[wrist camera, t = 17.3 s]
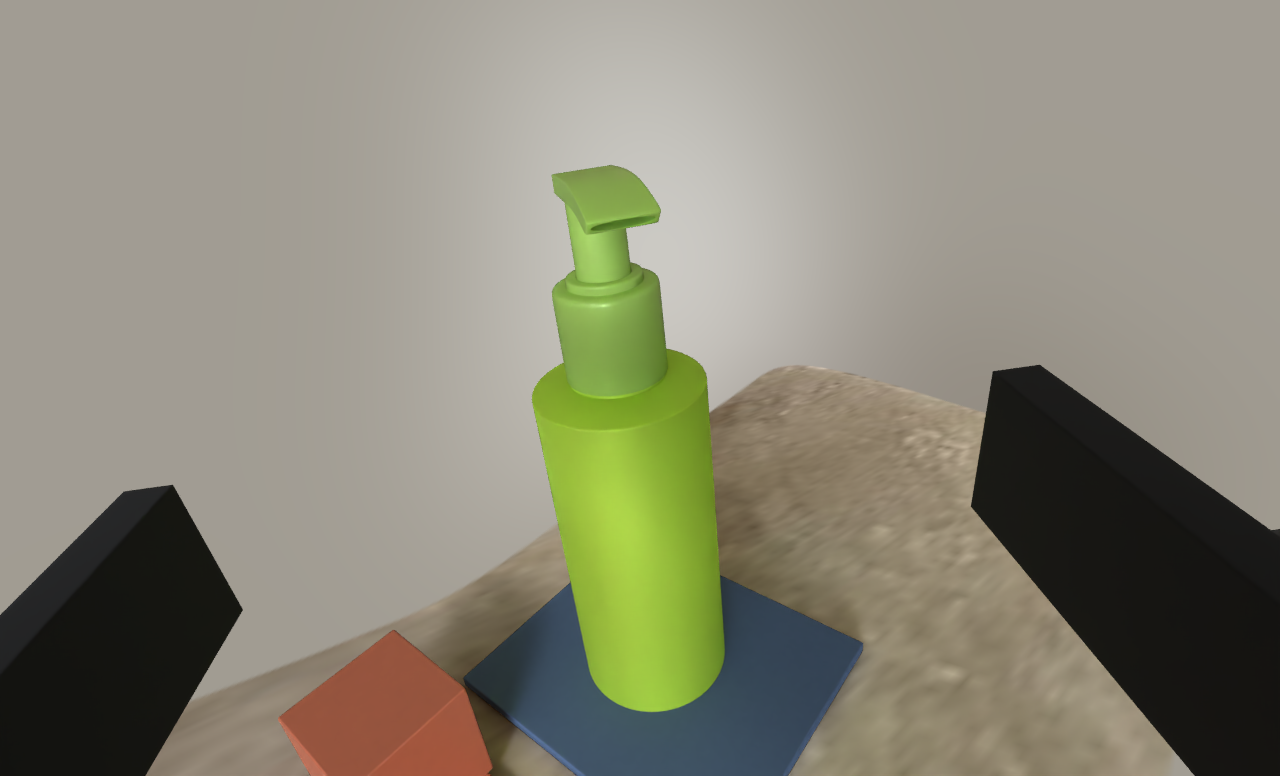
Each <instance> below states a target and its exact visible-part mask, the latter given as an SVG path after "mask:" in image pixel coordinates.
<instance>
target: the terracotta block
mask: <svg viewBox="0 0 1280 776" xmlns="http://www.w3.org/2000/svg"><path fill="white" fill-rule="evenodd" d="M278 720H279V722H280V724H281V725H282V727H283V729H284V731H285V732H286V734H287V736H288V738H289V739H290V741H291V743H292V744H293V746H294V748H295V750H296V751H297V753H298V755H299V757H300V758H301V760H302V762H303V763H304V765H305V767H306V769H307V770H308V772H309V774H310V776H485V775H486V774H487V773H488V772H489V771H490V770H491V769H492V768H493V765H492V762H491V759H490V757H489V754H488V751H487V748H486V745H485V743H484V740H483V737H482V734H481V731H480V728H479V726H478V723H477V720H476V717H475V714H474V712H473V709H472V706H471V703H470V700H469V697H468V695H467V692H466V689H465V688H464V687H463V686H462V685H461V684H460V683H458V682H457V681H456V680H455V679H454V678H452V677H451V676H450V675H449V674H447V673H446V672H445V671H444V670H443V669H441V668H440V667H439V666H438V665H436V664H435V663H434V662H433V661H432V660H430V659H429V658H428V657H427V656H425V655H424V654H423V653H422V652H421V651H419V650H418V649H417V648H416V647H414V646H413V645H412V644H411V643H410V642H408V641H407V640H406V639H405V638H404V637H402V636H401V635H400V634H399V633H397V632H396V631H395V630H392V631H391V632H390V633H388V634H387V635H386V636H384V637H383V638H382V639H380V640H379V641H378V642H376V643H375V644H374V645H373V646H371V647H370V648H369V649H367V650H366V651H365V652H363V653H362V654H361V655H359V656H358V657H357V658H356V659H354V660H353V661H352V662H350V663H349V664H348V665H346V666H345V667H344V668H342V669H341V670H340V671H339V672H337V673H336V674H335V675H333V676H332V677H331V678H329V679H328V680H327V681H325V682H324V683H323V684H322V685H320V686H319V687H318V688H316V689H315V690H314V691H312V692H311V693H310V694H308V695H307V696H306V697H305V698H303V699H302V700H301V701H299V702H298V703H297V704H295V705H294V706H293V707H291V708H290V709H289V710H287V711H286V712H285V713H284V714H282V715H281V716H280V717H279V718H278Z"/></svg>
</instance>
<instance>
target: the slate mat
mask: <svg viewBox="0 0 1280 776" xmlns="http://www.w3.org/2000/svg"><path fill="white" fill-rule="evenodd" d="M720 585H721V600H722V615H723V630H724V645H725V655H724V662H723V665H722V668H721V671H720V673H719V675H718V677H717V678H716V680H715V681H714V683H713V684H712V685H711V687H710V688H709V689H708V690H707V691H706V692H705V693H703V694H702V695H701V696H700V697H698V698H697V699H695V700H694V701H692V702H690V703H688V704H686V705H684V706H681V707H679V708H675V709H672V710H667V711H660V712H643V711H637V710H632V709H629V708H626V707H623V706H621V705H619V704H617V703H615V702H613V701H612V700H610V699H609V698H608V697H607V696H605V695H604V694H603V693H602V692H601V691H600V689H599V688H598V687H597V686H596V684H595V682H594V681H593V679H592V676H591V674H590V670H589V666H588V662H587V657H586V652H585V647H584V643H583V638H582V633H581V629H580V624H579V619H578V615H577V610H576V605H575V600H574V596H573V591H572V586H571V582H570V583H569V584H568V585H567V586H566V587H565V588H564V589H563V590H561V591H560V592H559V593H558V594H557V595H556V596H555V597H554V598H552V599H551V600H550V601H549V602H548V603H547V604H546V605H545V606H543V607H542V608H541V609H540V610H539V611H538V612H537V613H536V614H534V615H533V616H532V617H531V618H530V619H529V620H528V621H527V622H525V623H524V624H523V625H522V626H521V627H520V628H519V629H517V630H516V631H515V632H514V633H513V634H512V635H511V636H510V637H508V638H507V639H506V640H505V641H504V642H503V643H502V644H501V645H499V646H498V647H497V648H496V649H495V650H494V651H493V652H492V653H490V654H489V655H488V656H487V657H486V658H485V659H484V660H483V661H481V662H480V663H479V664H478V665H477V666H476V667H475V668H474V669H472V670H471V671H470V672H469V673H468V674H467V675H466V676H465V677H464V678H463V679H464V681H465V684H466V686H468V687H469V688H470V689H471V690H472V691H474V692H475V693H476V694H477V695H479V696H480V697H481V698H482V699H484V700H485V701H486V702H487V703H488V704H490V705H491V706H492V707H493V708H495V709H496V710H497V711H498V712H499V713H501V714H502V715H503V716H504V717H506V718H507V719H508V720H509V721H510V722H512V723H513V724H514V725H515V726H517V727H518V728H519V729H520V730H522V731H523V732H524V733H525V734H526V735H528V736H529V737H530V738H531V739H533V740H534V741H535V742H536V743H537V744H539V745H540V746H541V747H542V748H544V749H545V750H546V751H547V752H549V753H550V754H551V755H552V756H553V757H555V758H556V759H557V760H558V761H560V762H561V763H562V764H563V765H564V766H566V767H567V768H568V769H569V770H571V771H572V772H573V773H574V774H576V775H577V776H788V775H789V773H790V771H791V770H792V768H793V766H794V765H795V763H796V761H797V760H798V758H799V756H800V755H801V753H802V751H803V750H804V748H805V746H806V745H807V743H808V741H809V739H810V738H811V736H812V734H813V733H814V731H815V729H816V728H817V726H818V724H819V723H820V721H821V719H822V718H823V716H824V714H825V713H826V711H827V709H828V708H829V706H830V704H831V703H832V701H833V699H834V698H835V696H836V694H837V693H838V691H839V689H840V688H841V686H842V684H843V683H844V681H845V679H846V678H847V676H848V674H849V673H850V671H851V669H852V668H853V666H854V664H855V663H856V661H857V659H858V658H859V656H860V654H861V653H862V651H863V643H862V642H860V641H858V640H856V639H854V638H851V637H849V636H847V635H845V634H843V633H841V632H839V631H837V630H835V629H832V628H830V627H828V626H826V625H824V624H822V623H820V622H818V621H816V620H813V619H811V618H809V617H807V616H805V615H803V614H801V613H799V612H797V611H794V610H792V609H790V608H788V607H786V606H784V605H782V604H780V603H778V602H775V601H773V600H771V599H769V598H767V597H765V596H763V595H761V594H759V593H756V592H754V591H752V590H750V589H748V588H746V587H744V586H742V585H740V584H737V583H735V582H733V581H731V580H729V579H727V578H725V577H723V576H721V575H720Z"/></svg>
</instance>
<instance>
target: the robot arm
mask: <svg viewBox="0 0 1280 776" xmlns="http://www.w3.org/2000/svg"><path fill="white" fill-rule="evenodd" d="M971 507H972V508H973V510H974V511H975V512H976V513H977V514H978V516H979V517H980V518H981V519H982V520H983V522H984V523H985V524H986V525H987V526H988V528H989V529H990V530H991V531H992V532H993V534H994V535H995V536H996V537H997V538H998V540H999V541H1000V542H1001V543H1002V544H1003V546H1004V547H1005V548H1006V549H1007V550H1008V552H1009V553H1010V554H1011V555H1012V556H1013V558H1014V559H1015V560H1016V561H1017V562H1018V564H1019V565H1020V566H1021V567H1022V569H1023V570H1024V571H1025V572H1026V573H1027V575H1028V576H1029V577H1030V578H1031V579H1032V581H1033V582H1034V583H1035V584H1036V585H1037V587H1038V588H1039V589H1040V590H1041V591H1042V593H1043V594H1044V595H1045V596H1046V597H1047V599H1048V600H1049V601H1050V602H1051V603H1052V605H1053V606H1054V607H1055V608H1056V609H1057V611H1058V612H1059V613H1060V614H1061V615H1062V617H1063V618H1064V619H1065V620H1066V621H1067V623H1068V624H1069V625H1070V626H1071V627H1072V629H1073V630H1074V631H1075V632H1076V634H1077V635H1078V636H1079V637H1080V638H1081V640H1082V641H1083V642H1084V643H1085V644H1086V646H1087V647H1088V648H1089V649H1090V650H1091V652H1092V653H1093V654H1094V655H1095V656H1096V658H1097V659H1098V660H1099V661H1100V662H1101V664H1102V665H1103V666H1104V667H1105V668H1106V670H1107V671H1108V672H1109V673H1110V674H1111V676H1112V677H1113V678H1114V679H1115V680H1116V682H1117V683H1118V684H1119V685H1120V686H1121V688H1122V689H1123V690H1124V691H1125V692H1126V694H1127V695H1128V696H1129V697H1130V699H1131V700H1132V701H1133V702H1134V703H1135V705H1136V706H1137V707H1138V708H1139V709H1140V711H1141V712H1142V713H1143V714H1144V715H1145V717H1146V718H1147V719H1148V720H1149V721H1150V723H1151V724H1152V725H1153V726H1154V727H1155V729H1156V730H1157V731H1158V732H1159V733H1160V735H1161V736H1162V737H1163V738H1164V739H1165V741H1166V742H1167V743H1168V744H1169V745H1170V747H1171V748H1172V749H1173V750H1174V751H1175V753H1176V754H1177V755H1178V756H1179V757H1180V759H1181V760H1182V761H1183V762H1184V764H1185V765H1186V766H1187V767H1188V768H1189V770H1190V771H1191V772H1192V773H1193V774H1194V775H1195V776H1280V529H1278V530H1270V529H1268V528H1267V527H1266V526H1264V525H1262V524H1261V523H1260V522H1258V521H1257V520H1256V519H1254V518H1253V517H1252V516H1250V515H1249V514H1247V513H1246V512H1245V511H1243V510H1242V509H1240V508H1239V507H1238V506H1236V505H1235V504H1233V503H1232V502H1231V501H1229V500H1228V499H1226V498H1225V497H1223V496H1222V495H1221V494H1219V493H1218V492H1217V491H1215V490H1214V489H1212V488H1211V487H1209V486H1208V485H1207V484H1205V483H1204V482H1203V481H1201V480H1200V479H1198V478H1197V477H1196V476H1194V475H1193V474H1191V473H1190V472H1189V471H1187V470H1186V469H1184V468H1183V467H1182V466H1180V465H1179V464H1177V463H1176V462H1175V461H1173V460H1172V459H1170V458H1169V457H1168V456H1166V455H1165V454H1163V453H1162V452H1161V451H1159V450H1158V449H1157V448H1155V447H1154V446H1152V445H1151V444H1150V443H1148V442H1147V441H1145V440H1144V439H1143V438H1141V437H1140V436H1138V435H1137V434H1136V433H1134V432H1133V431H1131V430H1130V429H1129V428H1127V427H1126V426H1124V425H1123V424H1122V423H1120V422H1119V421H1117V420H1116V419H1115V418H1113V417H1112V416H1110V415H1109V414H1108V413H1106V412H1105V411H1103V410H1102V409H1101V408H1099V407H1098V406H1096V405H1095V404H1093V403H1092V402H1091V401H1089V400H1088V399H1087V398H1085V397H1084V396H1082V395H1081V394H1080V393H1078V392H1077V391H1075V390H1074V389H1073V388H1071V387H1070V386H1068V385H1067V384H1065V383H1064V382H1063V381H1061V380H1060V379H1059V378H1057V377H1056V376H1054V375H1053V374H1052V373H1050V372H1049V371H1048V370H1046V369H1045V368H1043V367H1042V366H1041V365H1035V366H1029V367H1021V368H1013V369H1006V370H1000V371H993V374H992V380H991V386H990V392H989V398H988V405H987V411H986V417H985V423H984V429H983V435H982V441H981V448H980V454H979V460H978V466H977V472H976V478H975V485H974V491H973V497H972V503H971ZM242 610H243V609H242V607H241V606H240V604H239V602H238V600H237V598H236V597H235V595H234V593H233V591H232V590H231V588H230V586H229V585H228V582H227V581H226V579H225V577H224V575H223V573H222V572H221V570H220V568H219V566H218V565H217V563H216V561H215V559H214V557H213V556H212V554H211V552H210V550H209V548H208V547H207V545H206V543H205V541H204V539H203V538H202V536H201V534H200V532H199V531H198V529H197V527H196V525H195V523H194V522H193V520H192V518H191V516H190V515H189V513H188V511H187V509H186V507H185V506H184V504H183V502H182V500H181V498H180V497H179V495H178V493H177V491H176V490H175V488H174V486H173V485H169V486H161V487H154V488H146V489H140V490H132V491H125V492H123V493H122V494H121V495H120V496H119V497H118V498H117V499H116V500H115V501H114V502H113V503H112V504H111V505H110V506H109V507H108V508H107V509H106V510H105V511H104V512H103V513H102V514H101V515H100V516H99V517H98V518H97V519H96V520H95V521H94V522H93V523H92V524H91V525H90V526H89V527H88V528H87V529H86V530H85V531H84V532H83V533H82V534H81V535H80V536H79V537H78V538H77V539H76V540H75V541H74V542H73V543H72V544H71V545H70V546H69V547H68V548H67V549H66V550H65V551H64V552H63V553H62V554H61V555H60V556H59V557H58V558H57V559H56V560H55V561H54V562H53V563H52V564H51V565H50V566H49V567H48V568H47V569H46V570H45V571H44V572H43V573H42V574H41V575H40V576H39V577H38V578H37V579H36V580H35V581H34V582H33V583H32V584H31V585H30V586H29V587H28V588H27V589H26V590H25V591H24V592H23V593H22V594H21V595H20V596H19V597H18V598H17V599H16V600H15V601H14V602H13V603H12V604H11V605H10V606H9V607H8V608H7V609H6V610H5V611H4V612H3V613H2V614H1V615H0V776H145V775H146V774H147V772H148V770H149V769H150V767H151V765H152V764H153V762H154V760H155V758H156V757H157V755H158V753H159V752H160V750H161V748H162V747H163V745H164V743H165V741H166V740H167V738H168V736H169V735H170V733H171V731H172V730H173V728H174V726H175V724H176V723H177V721H178V719H179V718H180V716H181V714H182V713H183V711H184V709H185V707H186V706H187V704H188V702H189V701H190V699H191V697H192V695H193V694H194V692H195V690H196V689H197V687H198V685H199V683H200V682H201V680H202V678H203V677H204V675H205V673H206V672H207V670H208V668H209V667H210V665H211V663H212V661H213V660H214V658H215V656H216V655H217V653H218V651H219V650H220V648H221V646H222V644H223V643H224V641H225V639H226V638H227V636H228V634H229V632H230V631H231V629H232V627H233V626H234V624H235V622H236V621H237V619H238V617H239V616H240V614H241V612H242Z"/></svg>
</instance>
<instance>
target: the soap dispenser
mask: <svg viewBox="0 0 1280 776" xmlns="http://www.w3.org/2000/svg"><path fill="white" fill-rule="evenodd" d="M552 181H553V187H554V193H555V194H556V195H557V196H558V197H559V198H560V199H562V201H564V202H565V208H566V214H567V220H568V227H569V233H570V239H571V245H572V252H573V258H574V265H575V270H573V271H572V272H571V273H569V274H568V275H567V276H566V278H565V279H563V280H561V281H560V282H558V283H557V284H556V285H555V287H554V288H553V291H552V298H553V305H554V311H555V316H556V322H557V326H558V333H559V338H560V344H561V349H562V354H563V360H564V363H562V364H560V365H559V366H557V367H555V368H554V369H552V370H551V371H549V372H548V373H547V374H546V375H544V376H543V377H542V378H541V379H540V381H539V382H538V383H537V385H536V386H535V388H534V391H533V395H532V403H533V408H534V413H535V417H536V422H537V427H538V431H539V436H540V440H541V445H542V450H543V455H544V460H545V464H546V469H547V473H548V478H549V483H550V487H551V492H552V497H553V502H554V507H555V511H556V516H557V521H558V525H559V530H560V535H561V539H562V544H563V549H564V553H565V558H566V563H567V568H568V572H569V577H570V582H571V586H572V591H573V596H574V600H575V605H576V610H577V615H578V619H579V624H580V629H581V633H582V638H583V643H584V647H585V652H586V657H587V662H588V666H589V670H590V674H591V676H592V679H593V681H594V682H595V684H596V686H597V687H598V688H599V689H600V691H601V692H602V693H603V694H604V695H605V696H607V697H608V698H609V699H610V700H612V701H613V702H615V703H617V704H619V705H621V706H623V707H626V708H629V709H632V710H637V711H643V712H660V711H667V710H672V709H675V708H679V707H681V706H684V705H686V704H688V703H690V702H692V701H694V700H695V699H697V698H698V697H700V696H701V695H702V694H703V693H705V692H706V691H707V690H708V689H709V688H710V687H711V685H712V684H713V683H714V681H715V680H716V678H717V677H718V675H719V673H720V671H721V668H722V665H723V662H724V655H725V645H724V630H723V615H722V600H721V585H720V570H719V554H718V539H717V524H716V509H715V494H714V479H713V464H712V449H711V434H710V419H709V404H708V389H707V377H706V373H705V371H704V369H703V367H702V366H701V365H700V364H699V363H698V362H697V361H696V360H694V359H693V358H691V357H689V356H688V355H685V354H683V353H680V352H678V351H674V350H670V349H666V343H665V332H664V322H663V313H662V301H661V292H660V283H659V279H658V276H657V275H656V274H655V273H654V272H652V271H650V270H648V269H645V268H641V267H640V266H639V265H637V264H635V263H631V262H630V258H629V250H628V241H627V233H626V228H630V227H636V226H641V225H647V224H652V223H656V222H658V221H659V217H660V213H661V209H660V207H659V205H658V203H657V202H656V200H655V199H654V197H653V196H652V194H651V193H650V191H649V190H648V189H647V187H646V186H645V185H644V184H643V182H642V181H641V180H640V179H639V178H638V177H637V176H636V175H635V174H633V173H632V172H630V171H629V170H627V169H624V168H621V167H618V166H613V165H609V166H603V167H596V168H590V169H584V170H577V171H571V172H564V173H558V174H553V175H552Z"/></svg>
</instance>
